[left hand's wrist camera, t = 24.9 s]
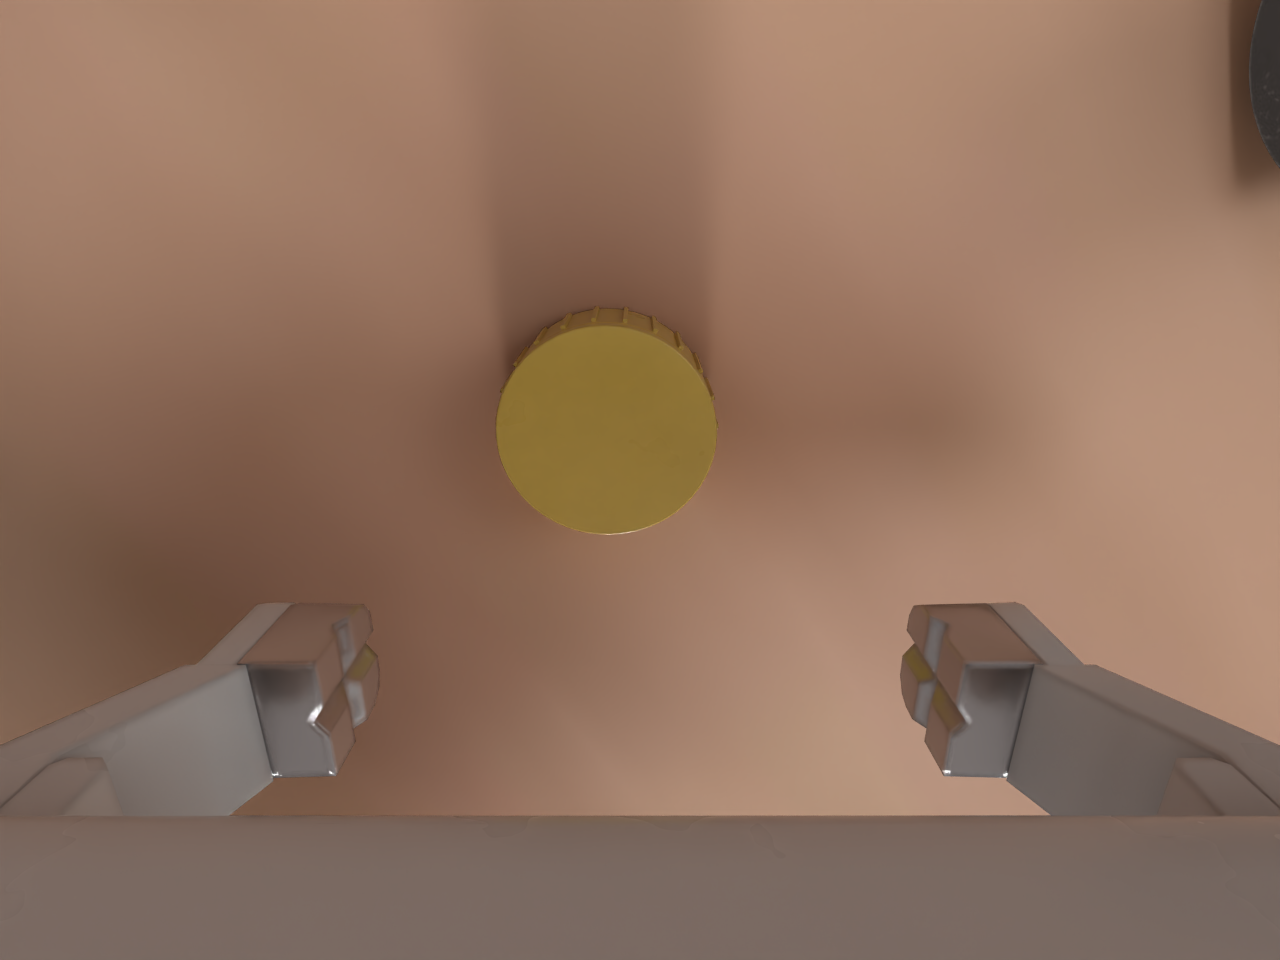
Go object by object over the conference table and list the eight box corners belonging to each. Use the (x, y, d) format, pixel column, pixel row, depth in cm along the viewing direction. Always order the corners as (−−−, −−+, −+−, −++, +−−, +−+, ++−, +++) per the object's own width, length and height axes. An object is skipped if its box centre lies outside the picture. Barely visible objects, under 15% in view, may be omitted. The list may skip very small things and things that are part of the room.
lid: (470, 425, 17) (448, 457, 15) (586, 259, 16) (579, 270, 14) (629, 532, 19) (628, 575, 17) (751, 388, 17) (767, 415, 15)
